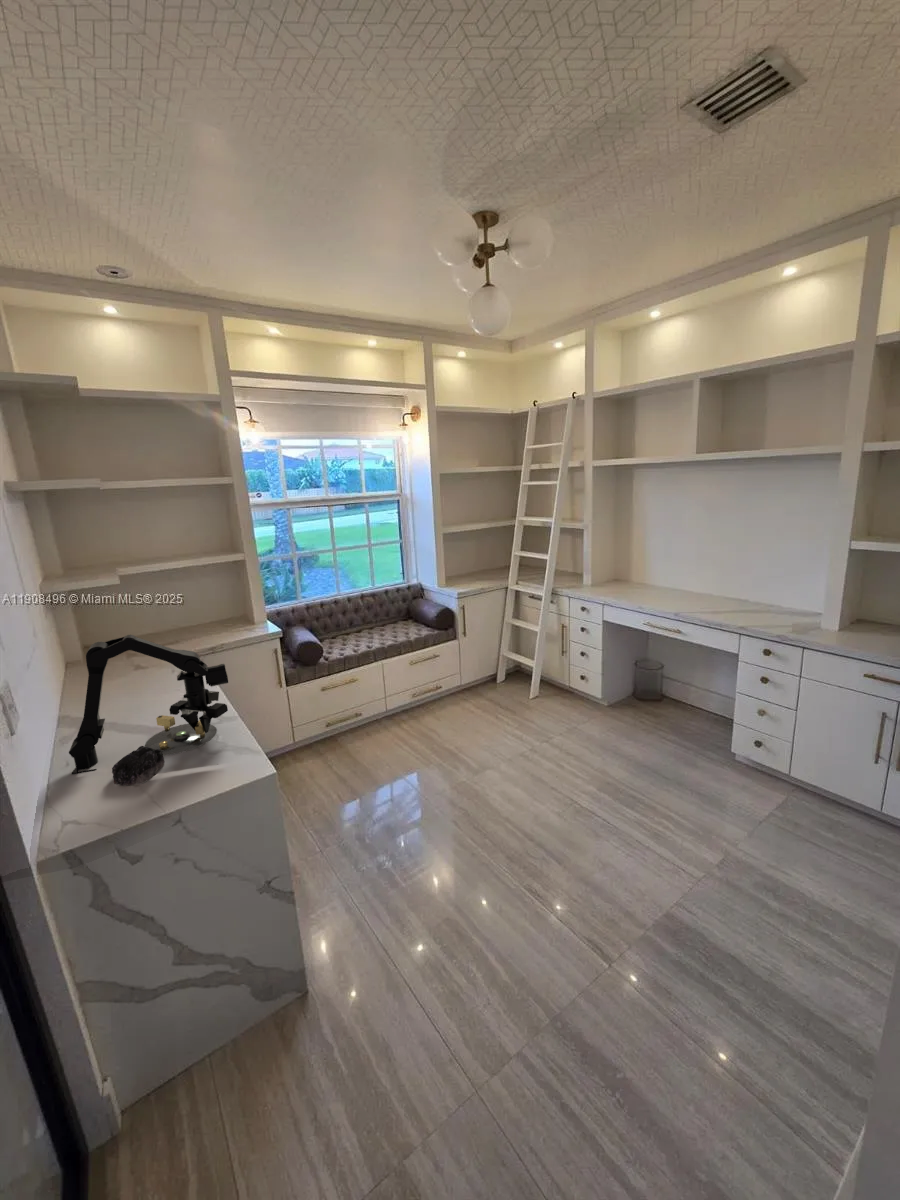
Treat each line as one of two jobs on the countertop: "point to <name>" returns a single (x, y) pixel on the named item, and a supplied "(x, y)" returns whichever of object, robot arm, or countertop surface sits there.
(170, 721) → the knob far
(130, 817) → the countertop surface
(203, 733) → the knob near
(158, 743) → the levelling plate
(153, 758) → the crystal cluster
